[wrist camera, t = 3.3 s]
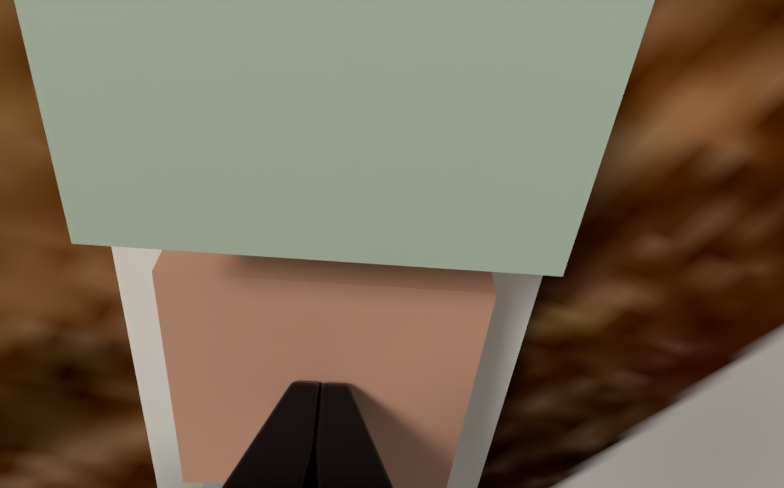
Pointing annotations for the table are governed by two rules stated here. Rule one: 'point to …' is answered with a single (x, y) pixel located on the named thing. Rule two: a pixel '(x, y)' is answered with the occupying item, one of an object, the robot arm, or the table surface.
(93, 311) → the table surface
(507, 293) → the button board
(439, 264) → the sage button
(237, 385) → the salmon block
